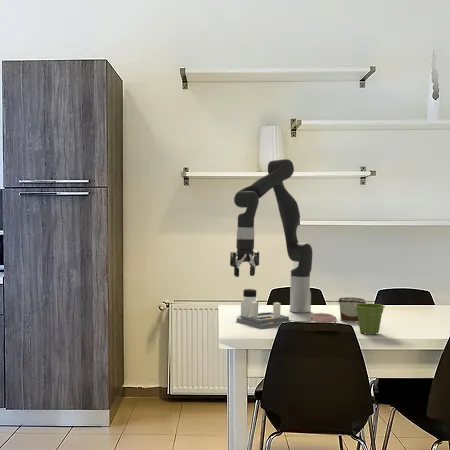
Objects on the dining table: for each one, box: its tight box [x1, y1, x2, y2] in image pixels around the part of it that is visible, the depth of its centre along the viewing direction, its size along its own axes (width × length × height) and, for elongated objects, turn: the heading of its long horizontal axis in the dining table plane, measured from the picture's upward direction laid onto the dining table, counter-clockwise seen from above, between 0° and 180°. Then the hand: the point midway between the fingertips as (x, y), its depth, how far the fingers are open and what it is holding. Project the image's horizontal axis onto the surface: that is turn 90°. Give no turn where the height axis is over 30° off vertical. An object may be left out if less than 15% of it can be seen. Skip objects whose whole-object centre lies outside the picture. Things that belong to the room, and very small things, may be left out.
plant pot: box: [355, 302, 385, 335], centre depth 227 cm, size 12×12×11 cm
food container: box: [337, 296, 367, 322], centre depth 254 cm, size 12×6×10 cm, turn 71°
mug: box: [309, 312, 338, 324], centre depth 234 cm, size 12×10×6 cm
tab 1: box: [249, 301, 259, 317], centre depth 245 cm, size 4×3×7 cm
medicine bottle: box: [240, 288, 259, 316], centre depth 263 cm, size 7×7×12 cm
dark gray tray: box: [236, 311, 294, 330], centre depth 244 cm, size 18×17×3 cm
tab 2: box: [271, 302, 281, 318], centre depth 243 cm, size 4×3×7 cm
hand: (244, 276), depth 241 cm, fingers open, 7 cm apart
